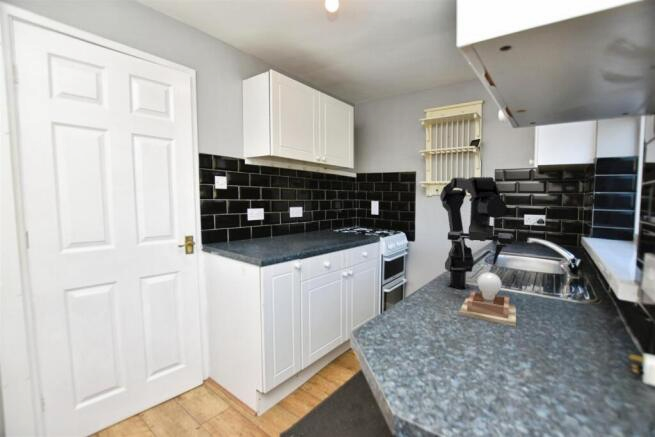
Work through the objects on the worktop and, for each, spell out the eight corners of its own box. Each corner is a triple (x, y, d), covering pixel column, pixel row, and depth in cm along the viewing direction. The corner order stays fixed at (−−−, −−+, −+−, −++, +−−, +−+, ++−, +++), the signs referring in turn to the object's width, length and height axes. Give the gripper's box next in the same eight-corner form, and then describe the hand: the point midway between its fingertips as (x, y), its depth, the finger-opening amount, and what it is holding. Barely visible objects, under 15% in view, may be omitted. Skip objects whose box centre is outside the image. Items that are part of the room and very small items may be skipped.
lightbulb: (496, 305, 91) (498, 270, 91) (503, 313, 85) (505, 276, 84) (474, 303, 93) (475, 269, 92) (479, 311, 87) (480, 274, 86)
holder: (465, 301, 99) (466, 288, 98) (515, 309, 91) (516, 296, 91) (459, 315, 87) (459, 301, 87) (515, 326, 79) (516, 311, 79)
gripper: (445, 216, 95) (443, 264, 96) (513, 218, 85) (511, 272, 86) (451, 214, 104) (449, 257, 105) (513, 216, 94) (511, 264, 95)
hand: (478, 262), depth 98 cm, fingers open, 9 cm apart
